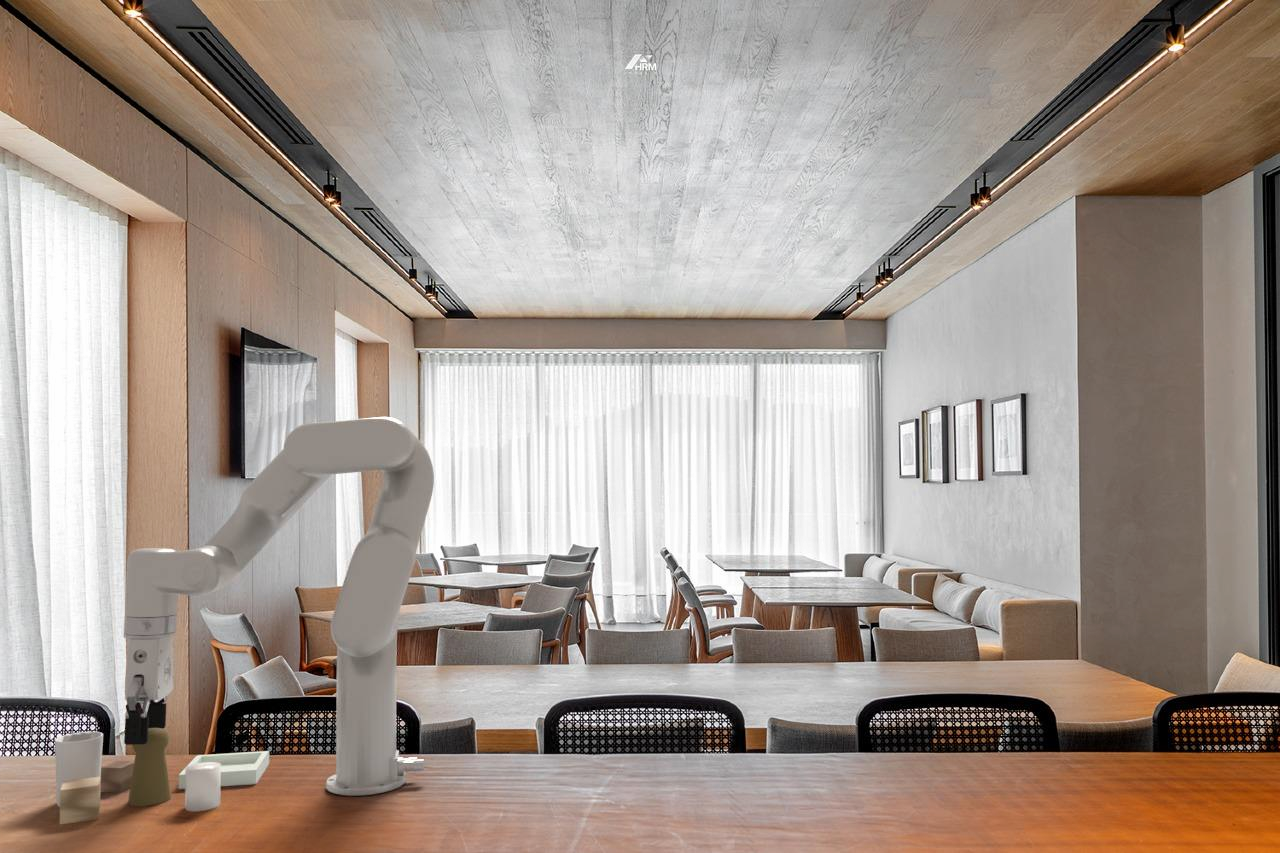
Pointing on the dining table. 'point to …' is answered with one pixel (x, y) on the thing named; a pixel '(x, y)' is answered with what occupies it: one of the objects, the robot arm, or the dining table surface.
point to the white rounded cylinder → (202, 786)
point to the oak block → (80, 800)
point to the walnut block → (116, 776)
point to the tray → (234, 767)
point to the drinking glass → (77, 757)
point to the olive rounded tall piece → (150, 771)
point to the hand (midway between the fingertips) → (145, 736)
